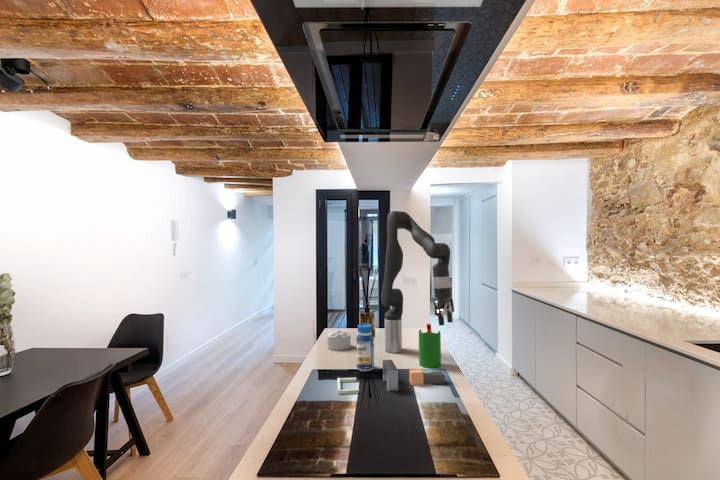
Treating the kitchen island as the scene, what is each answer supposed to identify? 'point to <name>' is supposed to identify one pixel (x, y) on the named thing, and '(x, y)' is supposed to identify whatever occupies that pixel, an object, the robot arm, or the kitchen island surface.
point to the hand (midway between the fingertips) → (446, 323)
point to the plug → (425, 377)
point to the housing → (390, 375)
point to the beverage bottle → (365, 348)
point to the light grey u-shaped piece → (348, 391)
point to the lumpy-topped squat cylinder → (338, 340)
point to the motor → (429, 348)
